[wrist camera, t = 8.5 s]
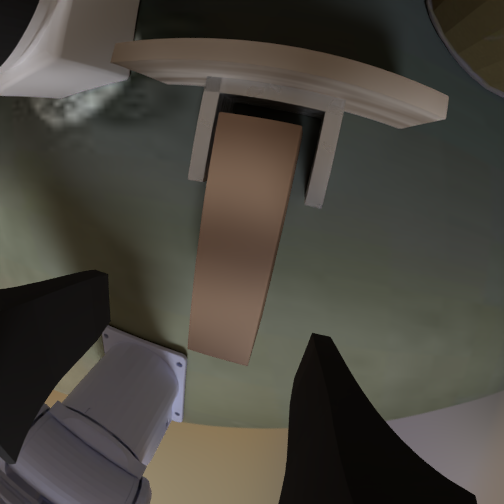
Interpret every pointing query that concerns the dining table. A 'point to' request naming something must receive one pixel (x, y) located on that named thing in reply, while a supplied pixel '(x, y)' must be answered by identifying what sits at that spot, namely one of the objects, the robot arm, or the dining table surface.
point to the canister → (473, 37)
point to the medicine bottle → (62, 45)
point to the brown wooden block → (240, 232)
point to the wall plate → (286, 74)
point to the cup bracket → (276, 97)
